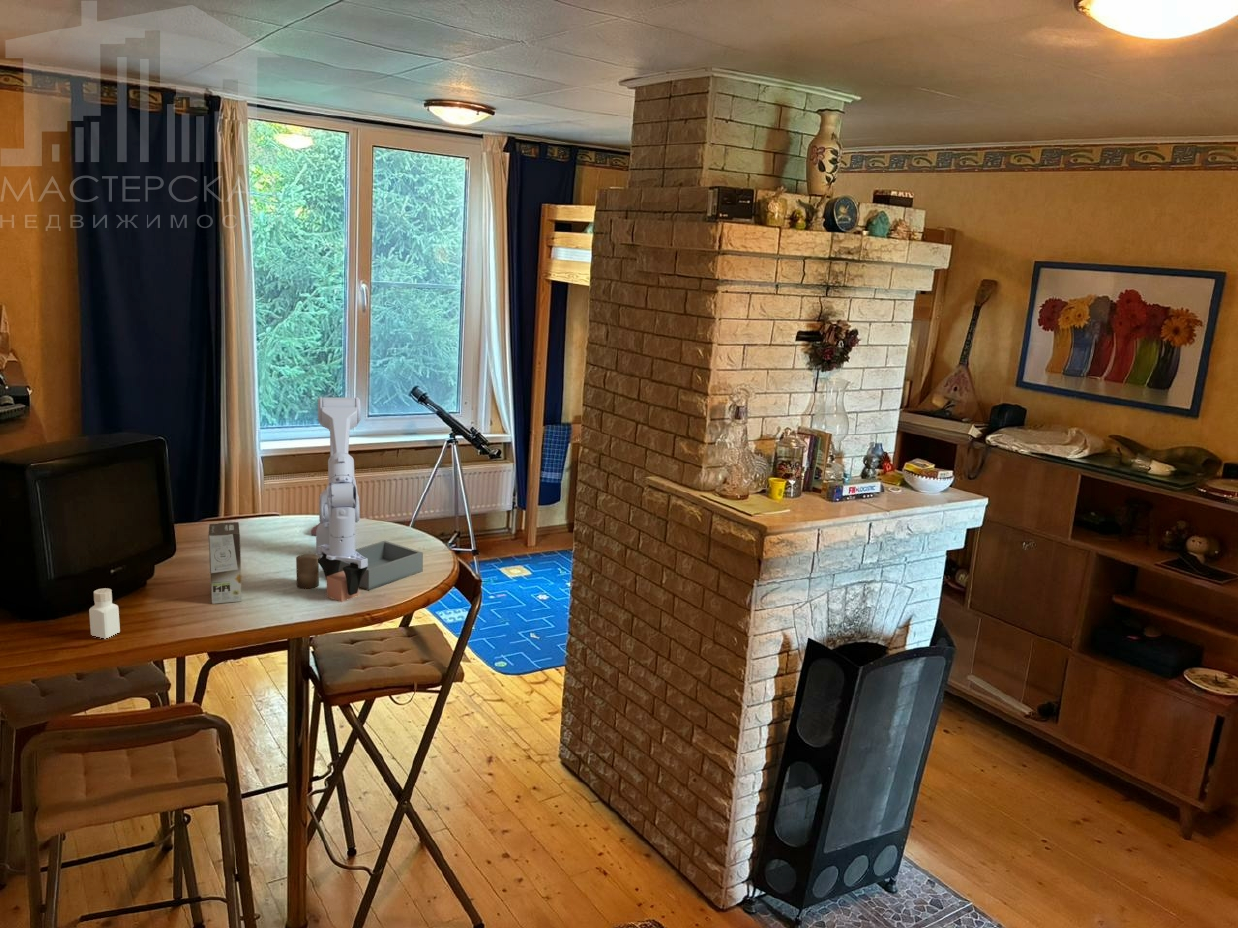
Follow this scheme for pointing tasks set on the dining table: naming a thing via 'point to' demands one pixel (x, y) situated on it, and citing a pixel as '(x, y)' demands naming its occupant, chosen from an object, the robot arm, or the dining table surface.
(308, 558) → the cylinder
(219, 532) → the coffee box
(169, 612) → the dining table surface
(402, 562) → the tote
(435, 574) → the dining table surface
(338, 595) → the cube
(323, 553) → the robot arm
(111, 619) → the white pill bottle
